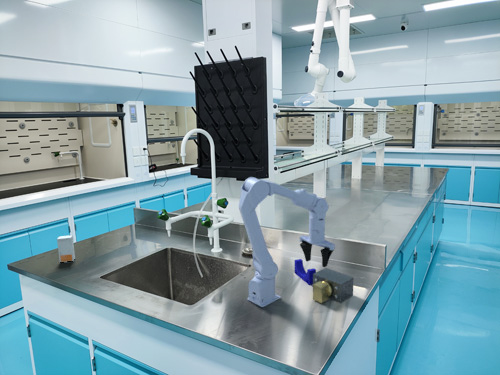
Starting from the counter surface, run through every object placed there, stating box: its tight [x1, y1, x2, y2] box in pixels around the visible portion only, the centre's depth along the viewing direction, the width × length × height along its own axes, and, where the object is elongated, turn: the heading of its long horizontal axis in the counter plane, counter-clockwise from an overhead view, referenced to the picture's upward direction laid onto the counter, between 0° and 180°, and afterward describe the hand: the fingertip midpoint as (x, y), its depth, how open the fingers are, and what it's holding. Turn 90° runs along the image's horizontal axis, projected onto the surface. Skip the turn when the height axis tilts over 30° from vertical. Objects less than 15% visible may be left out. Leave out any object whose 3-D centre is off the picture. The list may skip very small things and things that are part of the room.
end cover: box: [312, 281, 332, 304], centre depth 124 cm, size 10×6×6 cm, turn 133°
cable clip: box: [294, 258, 317, 286], centre depth 140 cm, size 12×4×6 cm, turn 21°
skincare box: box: [56, 234, 76, 263], centre depth 164 cm, size 6×4×12 cm
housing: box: [312, 267, 355, 304], centre depth 127 cm, size 9×12×7 cm
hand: (316, 263), depth 130 cm, fingers open, 7 cm apart
